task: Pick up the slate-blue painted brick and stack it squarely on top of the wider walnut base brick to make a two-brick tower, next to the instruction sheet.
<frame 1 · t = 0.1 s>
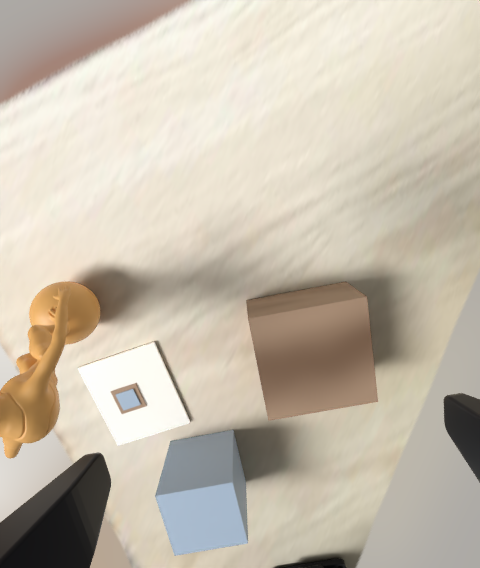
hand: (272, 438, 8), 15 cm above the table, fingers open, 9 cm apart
figurine: (95, 309, 23), on the table
blue brick: (209, 461, 26), on the table
base brick: (302, 335, 24), on the table
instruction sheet: (135, 394, 24), on the table
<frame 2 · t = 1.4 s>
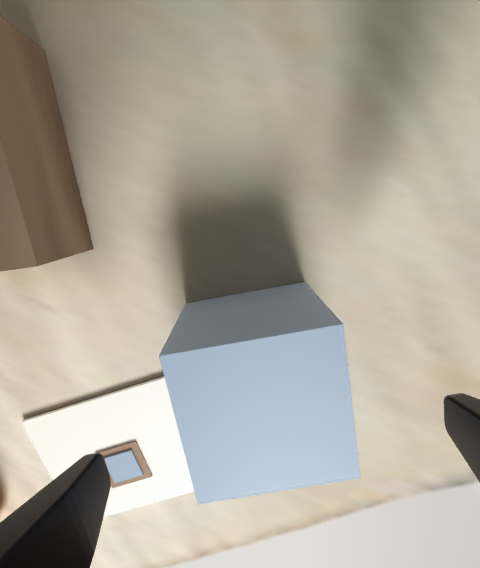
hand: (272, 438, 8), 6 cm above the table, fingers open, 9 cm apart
blue brick: (255, 346, 14), on the table
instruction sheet: (121, 451, 15), on the table
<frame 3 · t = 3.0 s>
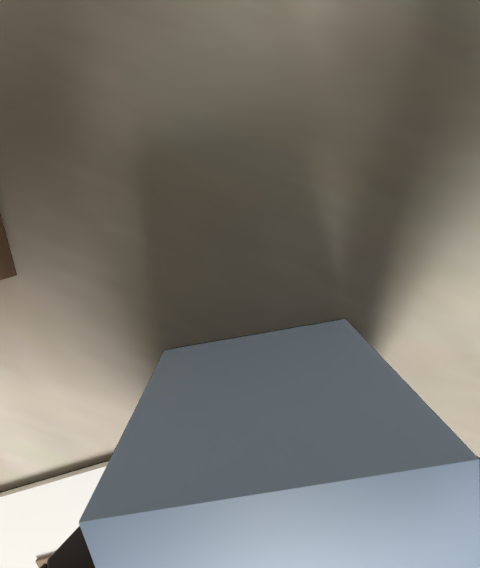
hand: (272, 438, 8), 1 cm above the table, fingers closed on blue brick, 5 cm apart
blue brick: (268, 413, 9), on the table, touching gripper
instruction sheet: (75, 555, 11), on the table
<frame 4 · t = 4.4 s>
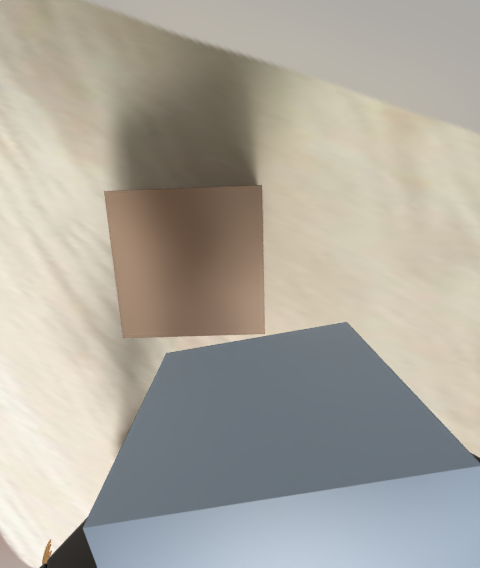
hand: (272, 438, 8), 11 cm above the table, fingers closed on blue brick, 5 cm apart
blue brick: (270, 416, 9), point 10 cm above the table, touching gripper
base brick: (199, 253, 19), on the table
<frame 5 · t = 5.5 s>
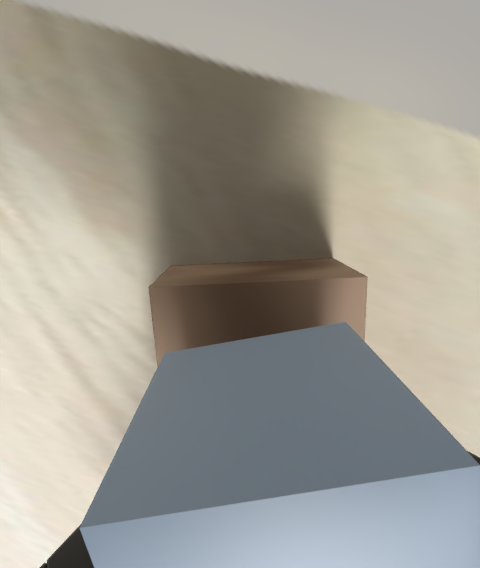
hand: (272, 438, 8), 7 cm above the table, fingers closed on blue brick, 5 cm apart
blue brick: (268, 416, 9), point 6 cm above the table, touching gripper
base brick: (254, 335, 15), on the table
when the fingers open (6 cm above the table, at t = 6.2 s): blue brick drops 2 cm, resting on base brick.
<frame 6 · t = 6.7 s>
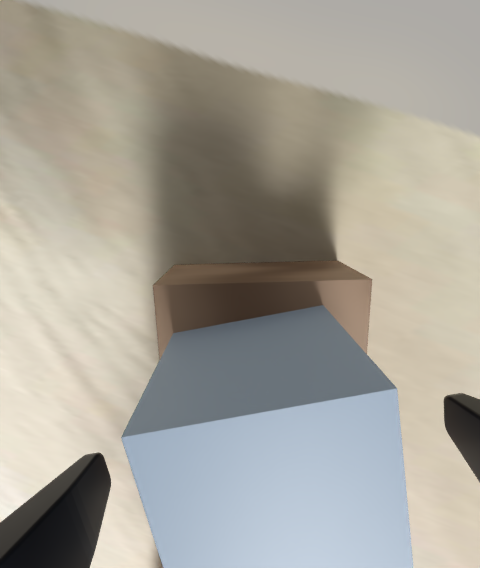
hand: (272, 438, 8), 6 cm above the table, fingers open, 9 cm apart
blue brick: (260, 386, 11), point 4 cm above the table, touching base brick
base brick: (256, 336, 15), on the table, touching blue brick
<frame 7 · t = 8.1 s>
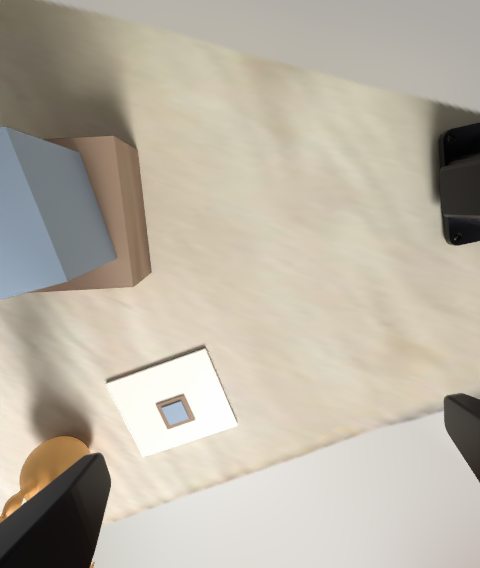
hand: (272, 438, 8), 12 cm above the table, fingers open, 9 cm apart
figurine: (79, 434, 23), on the table
blue brick: (48, 221, 15), point 4 cm above the table
base brick: (86, 216, 19), on the table
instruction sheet: (173, 403, 22), on the table
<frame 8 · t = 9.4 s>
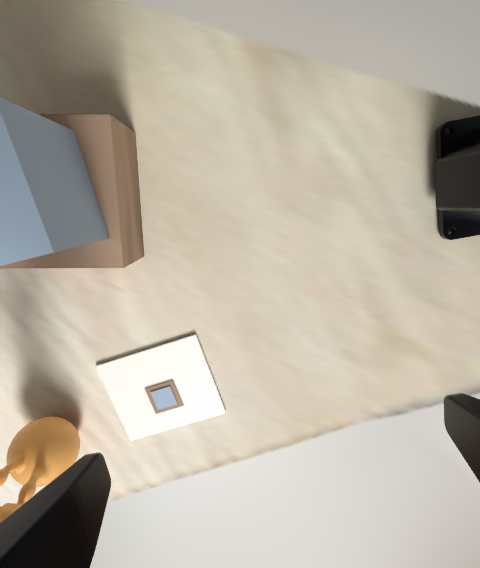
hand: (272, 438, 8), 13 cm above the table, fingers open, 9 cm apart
figurine: (68, 416, 23), on the table
blue brick: (42, 199, 15), point 4 cm above the table, touching base brick
base brick: (81, 197, 19), on the table, touching blue brick
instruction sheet: (162, 388, 22), on the table
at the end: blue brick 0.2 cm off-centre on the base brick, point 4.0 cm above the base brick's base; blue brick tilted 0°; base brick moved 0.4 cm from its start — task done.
